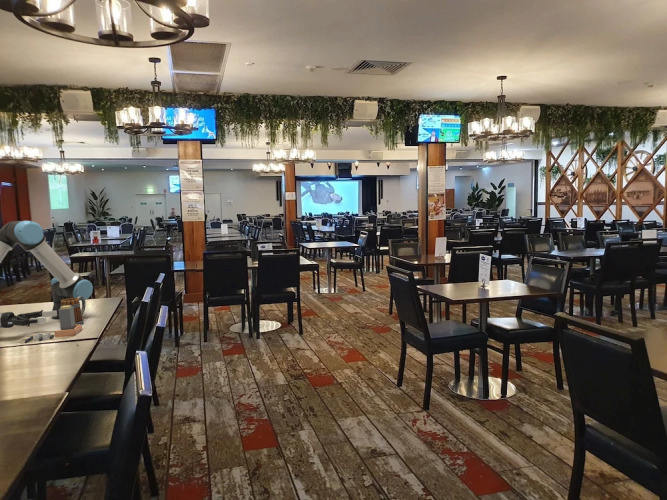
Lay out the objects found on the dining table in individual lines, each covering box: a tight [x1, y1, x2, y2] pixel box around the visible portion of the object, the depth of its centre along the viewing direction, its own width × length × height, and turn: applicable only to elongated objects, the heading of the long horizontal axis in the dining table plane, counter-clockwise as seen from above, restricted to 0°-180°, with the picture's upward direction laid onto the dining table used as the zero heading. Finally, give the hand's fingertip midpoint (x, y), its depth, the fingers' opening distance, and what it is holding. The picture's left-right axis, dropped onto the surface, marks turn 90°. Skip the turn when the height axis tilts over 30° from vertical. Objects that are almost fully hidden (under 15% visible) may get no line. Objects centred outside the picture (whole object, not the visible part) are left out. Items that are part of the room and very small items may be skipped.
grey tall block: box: [58, 305, 76, 330], centre depth 238 cm, size 5×5×13 cm
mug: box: [61, 297, 87, 325], centre depth 257 cm, size 16×11×15 cm
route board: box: [17, 327, 85, 343], centre depth 238 cm, size 18×24×1 cm
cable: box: [24, 335, 54, 344], centre depth 230 cm, size 7×11×1 cm
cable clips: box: [34, 332, 51, 342], centre depth 231 cm, size 4×6×2 cm
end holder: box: [54, 324, 83, 337], centre depth 239 cm, size 10×9×3 cm
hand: (51, 316), depth 237 cm, fingers open, 13 cm apart
